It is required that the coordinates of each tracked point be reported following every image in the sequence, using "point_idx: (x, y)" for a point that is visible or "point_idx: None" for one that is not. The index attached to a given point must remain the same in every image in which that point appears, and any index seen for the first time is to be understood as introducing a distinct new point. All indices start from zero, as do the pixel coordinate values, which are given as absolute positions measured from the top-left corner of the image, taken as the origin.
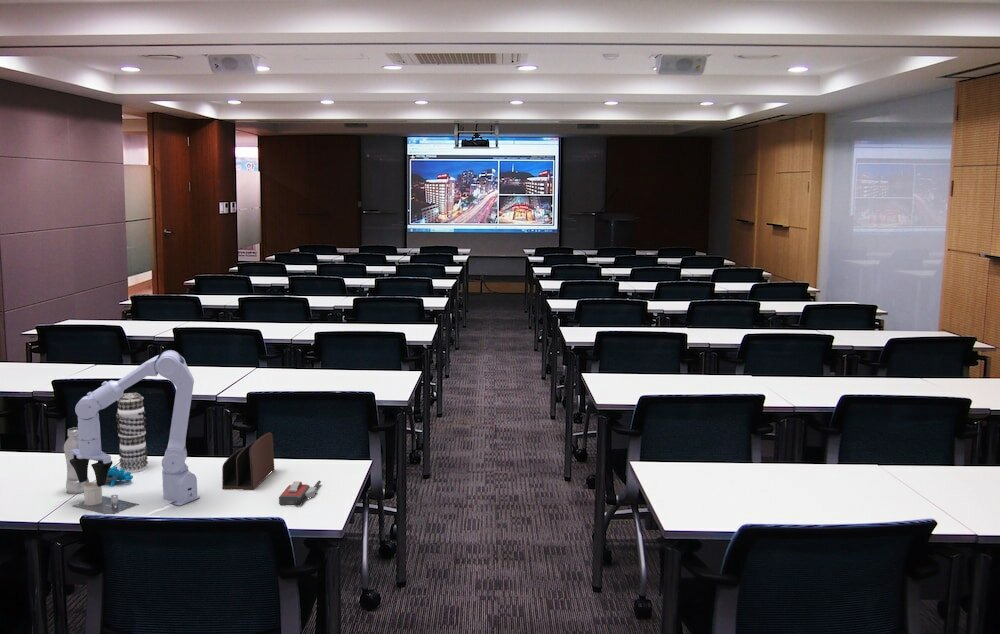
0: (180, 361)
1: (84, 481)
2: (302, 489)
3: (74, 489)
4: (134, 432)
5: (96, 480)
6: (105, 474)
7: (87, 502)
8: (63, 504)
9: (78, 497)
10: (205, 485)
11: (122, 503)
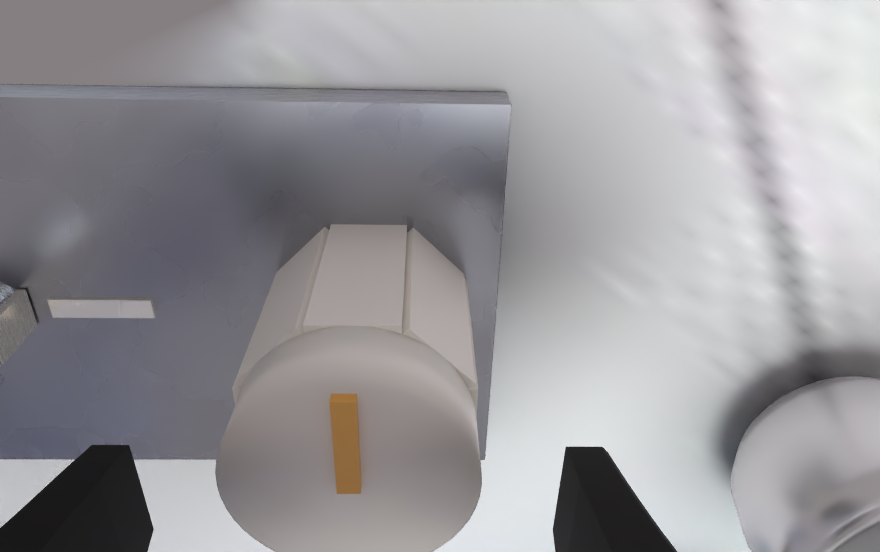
0: None
1: (558, 499)
2: None
3: (821, 422)
4: None
5: (49, 528)
6: None
7: (350, 238)
8: (746, 169)
9: (738, 373)
10: None
11: (64, 409)
